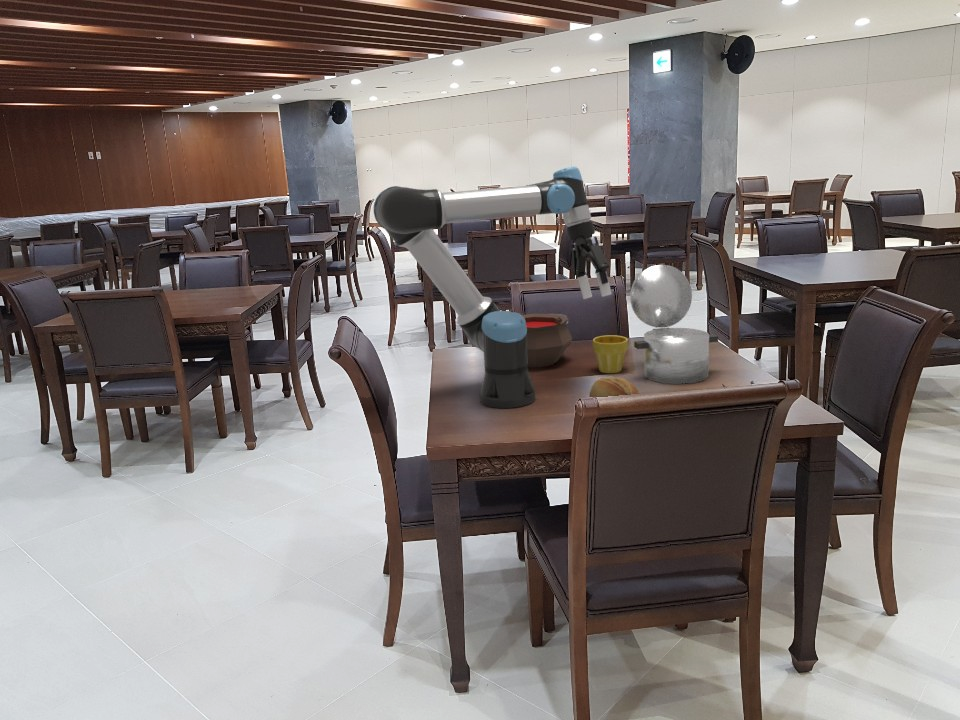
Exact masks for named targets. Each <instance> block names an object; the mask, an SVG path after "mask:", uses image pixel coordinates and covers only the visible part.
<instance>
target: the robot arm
mask: <svg viewBox="0 0 960 720" xmlns="http://www.w3.org/2000/svg"><path fill="white" fill-rule="evenodd" d="M579 169H580V168H578V167H577V166H570V167H565V168H561V169H559V170H556V171H554V172H553V174H552V179H550V180H547V181H541V182H536V183H533V184H526V185H523V186H520V185H519V186H510V187H509V186H508V187H499V188H496V187H495V188H484V189H474V190H462V191H461V190H460V191H459V190H458V191H449V192H448V191H447V192H441V191H440V190H439V189H437V188H433V189H421V188H418V189H417V188H412V187H407V186H406V187H405V186H398V185H395V186H389V187H387V188H385V189H384V190H382V191H381V192H380V193H379V194H378V195H377V197H376V198H375V200H374V202H373V215H374V219H375V221H376V224H378V225H379V226H380V227H381V228H382V229H384V230H385V232H386V233H387V234H388V235H389V236H390V239H392V240H393V241H394V243H395V244H396V245H397V247H400V248H405V249H407V251H408V252H409V253H410V254H411V256H412V257H413V258H414V259H415V261H416V262H417V264H418V265H419V266H420V267H421V268H422V270H423V271H424V272H425V274H426V276H428V277H429V279H430V281H431V282H432V283H433V284H434V286H435V287H436V288H437V289H438V291H439V292H440V293H441V295H442V296H443V297H444V298H445V299H446V301H447V302H448V304H449V305H450V307H452V309H453V310H454V311H455V313H456V314H457V324H458V326H459V327H460V328H461V329H462V330H463V332H464V333H465V337H466V339H467V340H468V342H469V343H470V344H471V345H473V346H474V347H475V348H476V349H479V351H482V352H483V362H484V377H483V379H482V382H481V387H480V391H479V402H480V403H481V404H482V405H484V406H486V407H490V408H495V409H497V408H499V409H513V408H518V407H519V408H520V407H524V406H527V405H530V404H532V403H534V402H535V400H536V397H537V396H536V389H535V387H534V384H533V380H532V379H531V376H530V373H529V369H528V368H529V367H528V358H527V327H526V321H525V318H524V317H523V316H522V315H523V314H520V313H518V312H516V311H514V312H511V311H509V310H500V309H499V307H498V306H497V305H496V304H495V302H494V300H493V299H492V298H491V297H489V296H483V295H482V294H481V292H480V291H479V290H478V288H477V287H476V285H475V284H474V282H473V281H472V280H471V278H470V277H469V276H468V275H467V274H466V272H465V271H464V269H463V268H462V267H461V265H460V264H459V263H458V261H457V260H456V259H455V258H454V256H453V254H452V253H451V252H450V250H448V249H449V248H447V246H446V245H445V244H444V243H443V241H442V240H441V239H440V237H439V236H438V235H437V233H436V231H435V229H436V230H437V229H442V228H443V226H444V225H445V224H455V223H464V222H475V221H476V222H477V221H484V220H485V221H486V220H495V219H496V220H497V219H505V218H507V219H508V218H516V217H517V218H518V217H525V216H527V217H528V216H537V215H541V216H542V215H550V214H555V215H562V218H563V221H564V226H567V227H566V233H567V238H568V240H569V241H573V240H574V242H573V243H571V244H570V248H571V256H572V257H571V258H572V259H571V260H572V274H573V276H574V277H575V276H576V278H577V280H578V283H579V284H578V285H579V288H580V292H581V296H582V299H583V300H586V299H589V298H593V293H592V290H591V284H590V281H589V276H588V273H587V272H586V271H587V270H586V269H587V268H586V267H587V258H588V260H589V261H590V263H591V265H592V266H593V268H594V269H595V271H594V272H595V273H594V274H595V276H596V279H597V284H598V288H599V291H600V295H601V297H602V298H604V297H607V296H610V295H611V296H612V295H613V294H612V290H611V285H610V281H609V277H608V273H607V271H608V269H609V268H610V265H609V263H608V260H607V258H606V256H605V254H604V252H603V250H602V248H601V245H600V243H599V240H598V238H597V236H592V235H594V234H595V232H596V231H595V226H594V222H593V221H592V219H591V218H592V214H591V208H590V207H589V203H588V200H587V199H588V198H587V195H586V194H587V193H586V190H585V186H584V180H583V177H582V173H581V171H580V170H579Z"/></svg>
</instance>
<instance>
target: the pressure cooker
mask: <svg viewBox="0 0 960 720" xmlns="http://www.w3.org/2000/svg"><path fill="white" fill-rule="evenodd" d="M718 342H719V336H718V335H716V334H714V333H711V334H710V333H709V332H707V331H704V330H701V329H696V328H685V327H661V328H660V327H658V328H652V330H649V331H646V332H645V333H644V334H643V340H636V341H634V342H633V343H634V344H633V345H634V348H635V349H637V350H643V377H645V379H647V378H648V379H647V380H649V379H651V380H654V381H653V382H655V381H659V382H663V383H662V384H666V383H672V384H671V385H686V384H685V383H690V384H695V382H696V383H700V382H703V381H706V380H707V379H708V378H709V364H710V363H709V360H710V353H709V352H710V343H718ZM707 377H708V378H707ZM706 378H707V379H706ZM651 380H650V381H651ZM702 380H703V381H702ZM699 381H700V382H699ZM659 382H658V383H659ZM673 383H675V384H673ZM682 383H683V384H682Z"/></svg>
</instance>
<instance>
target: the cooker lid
mask: <svg viewBox="0 0 960 720" xmlns="http://www.w3.org/2000/svg"><path fill="white" fill-rule="evenodd" d="M689 281H690V280H689V279H688V278H687V276H686V275H685V274H684V273H683V272H682V271H681V270H680V269H679V268H677V267H674V266H672V265H668V264H657V265H656V264H655V265H651V266H649V267H646V268H645V269H643V270H642V271H641V272H640V273H639V274H638V275H637V276H636V277H635V279H634V281H633V282H632V285H631V289H630V295H629V297H630V299H629V300H630V305H631V309H632V311H633V313H634V314H635V316H636V318H638V319H639V320H640V321H641V322H642V323H644V324H645V325H647V326H650V327H654V328H655V329H657V328H670V327H672V326H674V325H676V324H678V323H679V322H681V321H682V320H683V318H685V317H686V315H687V314H688V312H689V311H690V308H691V305H692V299H693V291H692V286H691V283H690V282H689Z"/></svg>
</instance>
